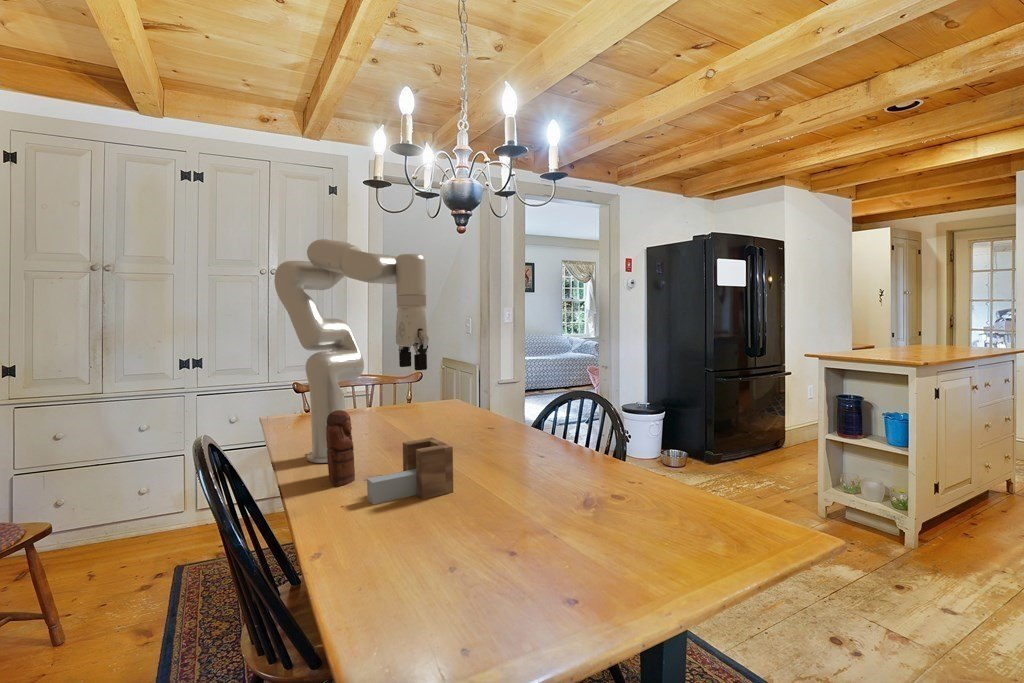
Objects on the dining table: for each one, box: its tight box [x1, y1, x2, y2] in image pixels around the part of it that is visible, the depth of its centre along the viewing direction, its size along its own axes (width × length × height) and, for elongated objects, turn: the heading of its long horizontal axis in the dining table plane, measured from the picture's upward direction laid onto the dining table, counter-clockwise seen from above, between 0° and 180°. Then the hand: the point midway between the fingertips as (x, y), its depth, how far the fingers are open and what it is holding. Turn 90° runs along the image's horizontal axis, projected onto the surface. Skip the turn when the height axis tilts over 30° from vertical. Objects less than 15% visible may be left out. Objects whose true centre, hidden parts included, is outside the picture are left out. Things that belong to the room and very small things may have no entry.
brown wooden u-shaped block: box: [402, 437, 454, 500], centre depth 125 cm, size 11×8×11 cm
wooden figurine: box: [326, 410, 356, 487], centre depth 132 cm, size 12×6×18 cm, turn 25°
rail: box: [366, 469, 417, 505], centre depth 121 cm, size 4×15×6 cm, turn 125°
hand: (412, 368), depth 134 cm, fingers open, 9 cm apart
